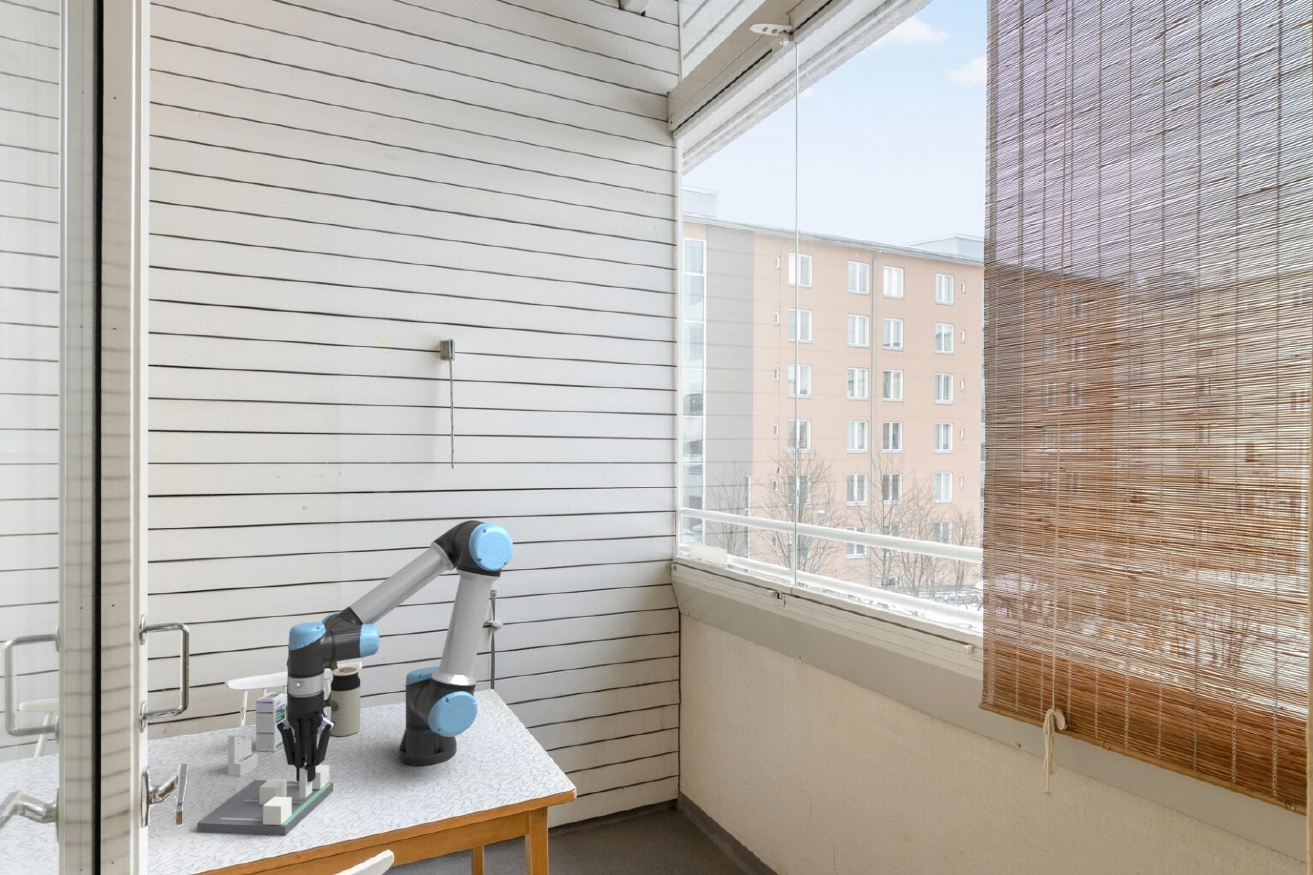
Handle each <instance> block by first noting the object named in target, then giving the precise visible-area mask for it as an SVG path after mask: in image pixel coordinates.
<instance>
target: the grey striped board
mask: <svg viewBox="0 0 1313 875" xmlns="http://www.w3.org/2000/svg"><path fill="white" fill-rule="evenodd" d="M268 780H269V779H268ZM268 780H267V779H266V780H261V779H254V780H253V781H252V782H250V783H249V784H247V785H246V786H245V787H243V788H242V789H240V790H239V791H238V792H237V793H235V794H233V796H231V797H230V798H229V799H227V800H226V801H225V802H223V803H221V804H220V805H219V806H218V807H217V808H215V809H214V810H212V811H211V812H210V813H208V814H207V815H206V816H205V817H203V818H202V819H201V820H199V821H198V822H197V823H196V832H197V833H206V834H208V833H210V834H211V833H212V834H234V835H252V836H253V835H256V836H257V835H258V836H279V837H280V836H281V837H282V836H284V837H285V836H287V835H288V834H289V833H290V832H291V831H292V830H293V829H294V828H295V827H296V826H298V825H299V822H300V821H301V820H302V819H303V820H304V819H305V818H306V817H308V815H309V814H310V813H312V812H313V811H314V810H315V809H316V807H318V806H319V805H321V803H323V801H324V800H325V799H327V797H328V796H330V795H331V794H332V793H333V792H334V782H328V783H327V784H326V785H325V786H324V787H323V788H321V789H312V793H311V794H309V795H308V796H307V797H306V798H299V786H300V781H297V780H296V781H293V780H290V781H289V780H287V797H292V815H291V816H290V817H289V818H288V819H287V820H286V821H285V822H284V823H282V824H281V825H270V824H263V805H259V794H260V786H262V785H263V784H264V783H265V782H267V781H268ZM303 820H302V821H303ZM302 821H301V822H302ZM301 822H300V823H301ZM289 831H290V832H289Z"/></svg>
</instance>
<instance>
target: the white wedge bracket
mask: <svg viewBox="0 0 1313 875" xmlns="http://www.w3.org/2000/svg"><path fill="white" fill-rule="evenodd" d="M227 738H228V740H227V742H228V743H227V745H228V747H227V749H228V753H227V755H228V756H227V761H228V762H227V763H228V764H227V765H228V766H227V768H228V769H227V770H228V771H227V774H228V776H235V777H242V776H243V775H245V774H247V773H249V772H250V771H252V770H253V768H254V767H255V766H257V767H258V754H257V753H252V739H248V738H244V737H239V736H236V735H235V736H234V735H228V737H227ZM255 768H256V767H255ZM255 768H254V769H255ZM251 769H252V770H251ZM248 771H249V772H248ZM246 772H247V773H246ZM244 773H245V774H244Z"/></svg>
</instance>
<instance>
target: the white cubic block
mask: <svg viewBox="0 0 1313 875" xmlns="http://www.w3.org/2000/svg"><path fill="white" fill-rule="evenodd" d="M287 781H288V780H287V779H285V778H284V779H282V778H270V779H268V781H267V782H265V783H264V784H263V785H262V786H260V794H259V805H265V804H266V803H267V802H268V801H270V800H271V799H272V798H273V797H287Z"/></svg>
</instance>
